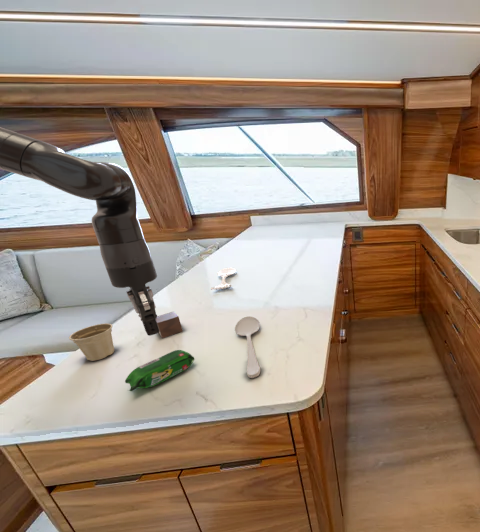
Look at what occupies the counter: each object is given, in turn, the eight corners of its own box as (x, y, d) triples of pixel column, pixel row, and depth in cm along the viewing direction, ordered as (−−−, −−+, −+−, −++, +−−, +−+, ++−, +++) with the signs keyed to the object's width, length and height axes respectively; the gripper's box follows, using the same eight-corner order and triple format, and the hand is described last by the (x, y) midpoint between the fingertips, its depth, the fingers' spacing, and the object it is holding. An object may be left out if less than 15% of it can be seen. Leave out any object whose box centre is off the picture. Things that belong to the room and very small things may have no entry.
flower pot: (76, 357, 92) (65, 333, 89) (116, 343, 99) (107, 320, 96) (83, 368, 87) (72, 343, 84) (125, 352, 94) (116, 328, 91)
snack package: (123, 389, 78) (116, 373, 76) (188, 357, 91) (183, 343, 89) (134, 400, 75) (128, 383, 73) (200, 365, 87) (196, 350, 85)
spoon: (235, 325, 108) (233, 319, 107) (259, 319, 112) (257, 313, 111) (239, 387, 80) (237, 379, 79) (271, 376, 83) (269, 369, 82)
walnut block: (162, 338, 101) (157, 322, 99) (158, 332, 105) (153, 317, 103) (182, 331, 106) (178, 316, 104) (178, 325, 109) (174, 311, 107)
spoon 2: (211, 294, 135) (209, 287, 134) (219, 273, 163) (217, 267, 162) (233, 291, 139) (231, 284, 138) (237, 270, 167) (236, 264, 165)
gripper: (102, 259, 65) (127, 329, 70) (108, 273, 56) (137, 351, 62) (145, 251, 70) (166, 317, 76) (157, 263, 61) (179, 336, 67)
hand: (152, 332), depth 69 cm, fingers closed
